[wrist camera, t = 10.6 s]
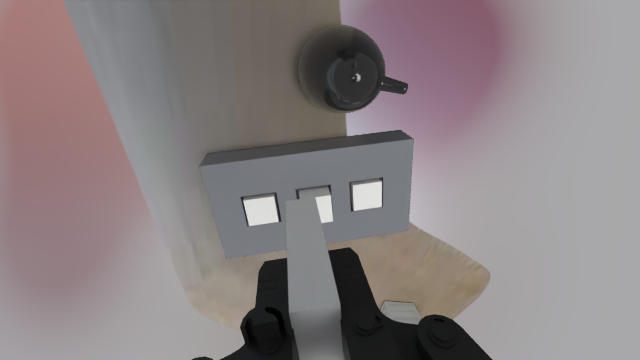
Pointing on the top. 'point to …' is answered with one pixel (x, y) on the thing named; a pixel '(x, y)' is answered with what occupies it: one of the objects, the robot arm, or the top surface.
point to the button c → (366, 194)
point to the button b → (319, 200)
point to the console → (309, 171)
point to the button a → (261, 208)
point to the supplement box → (401, 312)
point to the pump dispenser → (344, 70)
